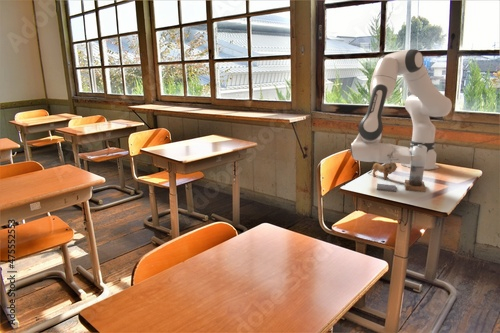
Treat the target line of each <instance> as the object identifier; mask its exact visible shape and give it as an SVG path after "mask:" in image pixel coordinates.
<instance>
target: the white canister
mask: <svg viewBox="0 0 500 333" xmlns="http://www.w3.org/2000/svg"><path fill="white" fill-rule="evenodd" d="M426 154H427V147H424V146H423V145H418V146H413V149H412V155H413V156H417V155H418V156H422V160H415V161H411V165H412V166H417V167H424V166H425V161H426Z"/></svg>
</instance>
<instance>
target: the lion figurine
mask: <svg viewBox="0 0 500 333" xmlns="http://www.w3.org/2000/svg"><path fill="white" fill-rule="evenodd" d="M397 168H398V166H397V163H394V162H392V161H391V164H387V163H383V164H381V163H378V162H375V163H373V165H372V168H371V170H370V171H369V172H367V174H369V175H370V174H371V173H372V176H373V178H376V172H377V171H378V173H381V174H383V180H384V181H387V180H389V175H392V173H394V172H396V171H397Z"/></svg>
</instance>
